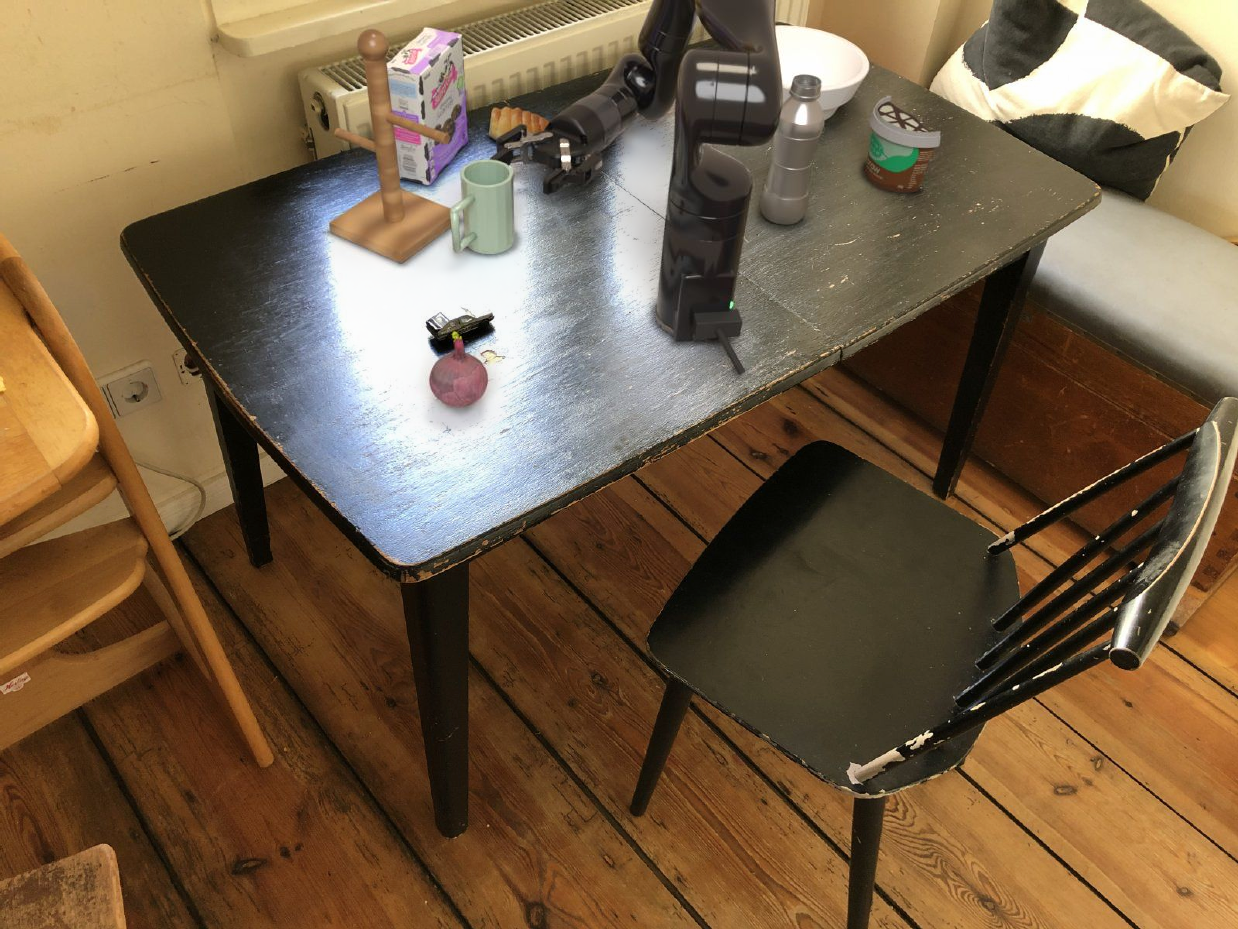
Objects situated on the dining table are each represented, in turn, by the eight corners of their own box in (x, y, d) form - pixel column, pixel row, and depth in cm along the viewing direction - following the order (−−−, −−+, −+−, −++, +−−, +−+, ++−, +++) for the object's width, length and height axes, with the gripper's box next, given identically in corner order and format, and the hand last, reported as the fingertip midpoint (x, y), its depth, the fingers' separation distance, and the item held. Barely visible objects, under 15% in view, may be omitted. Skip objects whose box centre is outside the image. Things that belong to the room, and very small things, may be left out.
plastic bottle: (802, 234, 138) (833, 95, 124) (754, 226, 139) (778, 88, 125) (806, 209, 143) (836, 72, 128) (759, 201, 143) (783, 65, 129)
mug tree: (483, 230, 135) (473, 35, 116) (426, 274, 127) (405, 74, 108) (378, 187, 141) (353, -5, 121) (318, 227, 133) (281, 29, 114)
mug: (484, 220, 136) (481, 153, 129) (524, 236, 134) (522, 169, 127) (435, 258, 130) (429, 189, 123) (476, 275, 128) (472, 207, 121)
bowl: (785, 62, 175) (794, 13, 169) (886, 114, 164) (899, 64, 157) (691, 96, 164) (697, 45, 158) (791, 155, 153) (801, 103, 147)
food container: (840, 163, 152) (855, 100, 145) (872, 155, 154) (889, 93, 147) (890, 204, 145) (908, 141, 138) (923, 195, 147) (943, 132, 140)
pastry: (552, 125, 155) (552, 102, 152) (550, 148, 150) (550, 125, 148) (491, 122, 155) (490, 99, 152) (487, 145, 150) (486, 121, 147)
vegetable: (498, 396, 113) (495, 326, 105) (471, 431, 109) (466, 361, 101) (451, 379, 114) (445, 309, 107) (422, 413, 110) (414, 343, 103)
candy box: (430, 187, 141) (420, 74, 129) (392, 178, 142) (378, 65, 130) (470, 141, 151) (464, 32, 139) (434, 133, 152) (425, 24, 140)
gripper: (543, 89, 142) (473, 135, 133) (628, 119, 138) (563, 169, 128) (543, 138, 148) (476, 186, 138) (625, 168, 143) (562, 220, 133)
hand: (518, 178), depth 133 cm, fingers open, 8 cm apart
